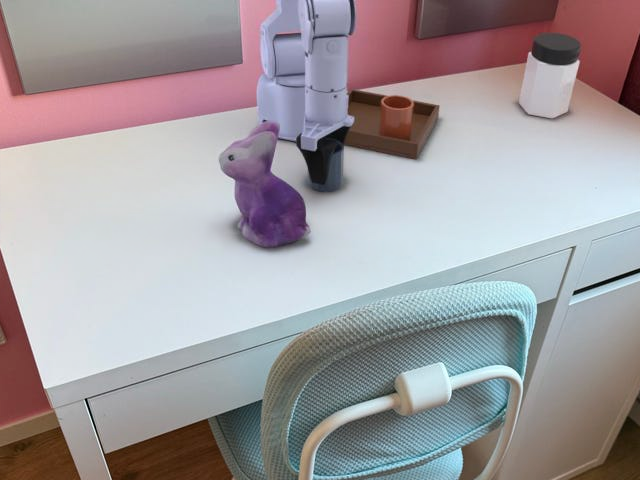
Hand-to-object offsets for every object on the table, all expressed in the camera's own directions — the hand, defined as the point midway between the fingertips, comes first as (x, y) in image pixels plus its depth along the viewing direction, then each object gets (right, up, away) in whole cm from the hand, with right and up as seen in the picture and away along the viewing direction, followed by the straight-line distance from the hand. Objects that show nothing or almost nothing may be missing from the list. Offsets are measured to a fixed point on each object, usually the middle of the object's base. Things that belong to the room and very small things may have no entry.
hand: (325, 173), depth 108 cm
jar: (+38, +18, +25) cm, 49 cm away
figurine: (-7, -10, -9) cm, 15 cm away
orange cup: (+11, +9, +12) cm, 18 cm away
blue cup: (0, -1, +1) cm, 2 cm away
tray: (+8, +11, +15) cm, 20 cm away
